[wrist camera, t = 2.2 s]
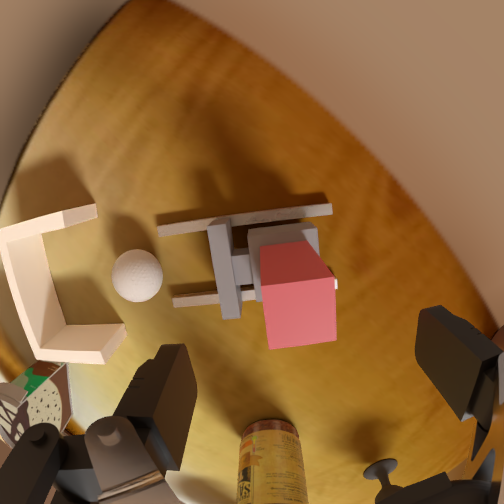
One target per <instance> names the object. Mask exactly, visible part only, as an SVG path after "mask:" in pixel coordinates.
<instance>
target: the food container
mask: <svg viewBox="0 0 504 504" xmlns="http://www.w3.org/2000/svg"><path fill="white" fill-rule="evenodd" d="M72 415H73V408H72V399H71V390H70V379H69V364H68V362H57V361H46V360H39V361H37V362H36V363H35V364H34V365H32V366H31V367H30V368H28V369H27V370H26V371H25V372H23V373H22V374H21V375H19V376H18V377H17V378H16V379H14V380H13V381H12V382H11V383H0V435H1V436H2V437H3V439H4V440H5V441H6V442H7V443H8V444H9V446H10V447H11V448H12V449H13V448H14V446H15V445H16V443H17V442H18V440H19V438H20V437H21V435H22V434H23V433H24V431H26V430H27V429H28V428H29V427H31V426H33V425H35V424H38V423H51V424H53V425H55V426H56V427H57V428H58V430H59V431H60V433H61V434H62V432H63V430H64V429H65V427H66V425H67V423H68V422H69V420H70V418H71V417H72Z"/></svg>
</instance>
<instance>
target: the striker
mask: <svg viewBox="0 0 504 504" xmlns="http://www.w3.org/2000/svg"><path fill="white" fill-rule="evenodd" d="M207 232H208V238H209V244H210V250H211V256H212V262H213V267H214V273H215V279H216V284H217V290H218V295H219V301H220V306H221V312H222V317H223V320H224V319H235V318H241V310H242V302H243V301H242V295H241V289H240V285H245V284H254V289H255V296H256V302H260V301H263V307H264V315H265V322H266V330H267V338H268V345H269V350H270V349H278V348H286V347H294V346H301V345H308V344H315V343H322V342H328V341H334V340H336V302H335V279H334V275H333V274H332V273H331V271H330V270H329V269H328V267H327V266H326V265H325V263H324V262H323V261H322V259H321V258H320V256H319V244H318V233H317V228H316V227H315V226H314V225H313V224H312V223H311V222H303V223H295V224H286V225H278V226H270V227H262V228H254V229H249V230H248V235H247V239H248V246H249V247H248V248H240V249H234V243H233V236H232V229H231V223H230V218H225V219H218V220H213V221H212V222H211V223H210V224H209V225H208V226H207Z"/></svg>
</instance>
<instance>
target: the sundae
mask: <svg viewBox="0 0 504 504" xmlns="http://www.w3.org/2000/svg"><path fill="white" fill-rule="evenodd" d="M396 467H397V461H396V460H394V459H386V460H382V461H379V462H377V463H375V464H373V465H371V466H370V467H369V468H368V469H367V470H366V471H365V472H364V477H365V478H366V479H370V480H373V479H379V480H380V482H381V485H382V489H381V490H380V492H379V493H378V494H377V496H376V498H375V504H376V503H378V502H380V501H381V500H383V499H385V498H387V497H389V496H391V495H392V494H394V493H396V492H398V491H399V490H401V489H403V487H400V486H397V485H391V484H390V482H389V478H388V474H389V473H391V472H392V471H393V470H394V469H395V468H396Z"/></svg>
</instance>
